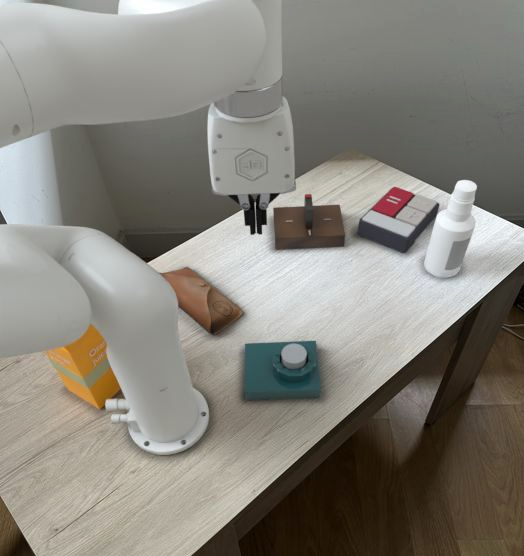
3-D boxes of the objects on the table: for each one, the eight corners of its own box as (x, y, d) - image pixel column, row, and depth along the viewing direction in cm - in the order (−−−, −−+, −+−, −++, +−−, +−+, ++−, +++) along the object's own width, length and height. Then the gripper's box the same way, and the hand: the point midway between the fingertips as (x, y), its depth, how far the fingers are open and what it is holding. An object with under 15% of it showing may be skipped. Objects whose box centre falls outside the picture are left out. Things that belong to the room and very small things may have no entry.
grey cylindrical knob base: (245, 400, 83) (244, 386, 80) (245, 351, 89) (244, 336, 86) (320, 397, 83) (321, 383, 80) (315, 348, 89) (316, 333, 86)
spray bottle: (460, 280, 98) (489, 199, 84) (423, 276, 99) (445, 196, 85) (459, 256, 102) (486, 175, 88) (423, 252, 103) (444, 172, 89)
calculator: (441, 200, 107) (409, 236, 99) (436, 217, 111) (405, 254, 103) (393, 183, 112) (358, 217, 104) (389, 200, 115) (356, 234, 107)
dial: (312, 228, 104) (313, 208, 101) (305, 228, 104) (306, 208, 101) (310, 212, 108) (311, 193, 104) (304, 213, 108) (304, 193, 104)
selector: (275, 249, 105) (274, 237, 103) (273, 219, 112) (273, 206, 109) (344, 246, 105) (345, 234, 103) (338, 216, 111) (339, 203, 109)
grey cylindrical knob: (282, 370, 82) (281, 363, 81) (281, 350, 85) (280, 343, 83) (307, 369, 82) (307, 362, 81) (305, 349, 84) (305, 342, 83)
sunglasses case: (247, 310, 94) (230, 298, 89) (224, 341, 95) (205, 331, 89) (185, 264, 103) (166, 250, 97) (164, 293, 103) (144, 281, 97)
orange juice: (66, 389, 86) (16, 306, 70) (104, 353, 90) (65, 267, 75) (100, 410, 83) (56, 329, 67) (137, 372, 87) (104, 287, 72)
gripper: (176, 112, 54) (200, 248, 69) (319, 106, 54) (313, 244, 68) (182, 80, 59) (203, 213, 73) (314, 74, 59) (309, 209, 73)
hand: (256, 228), depth 71 cm, fingers closed
